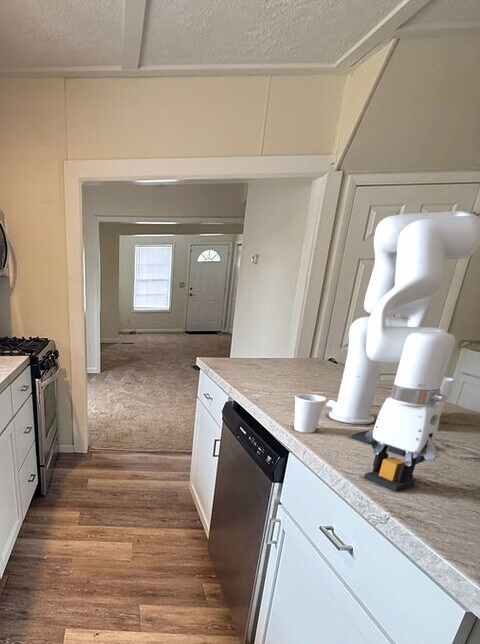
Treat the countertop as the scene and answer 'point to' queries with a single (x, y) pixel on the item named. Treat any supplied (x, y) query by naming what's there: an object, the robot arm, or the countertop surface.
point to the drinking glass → (445, 391)
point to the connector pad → (389, 483)
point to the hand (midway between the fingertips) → (390, 474)
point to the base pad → (362, 438)
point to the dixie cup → (308, 412)
